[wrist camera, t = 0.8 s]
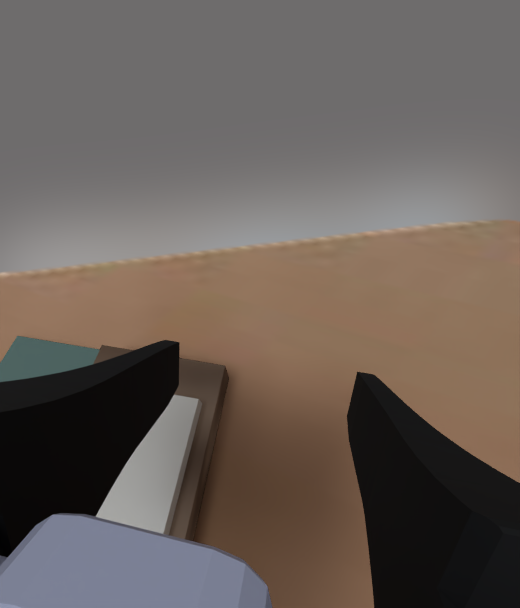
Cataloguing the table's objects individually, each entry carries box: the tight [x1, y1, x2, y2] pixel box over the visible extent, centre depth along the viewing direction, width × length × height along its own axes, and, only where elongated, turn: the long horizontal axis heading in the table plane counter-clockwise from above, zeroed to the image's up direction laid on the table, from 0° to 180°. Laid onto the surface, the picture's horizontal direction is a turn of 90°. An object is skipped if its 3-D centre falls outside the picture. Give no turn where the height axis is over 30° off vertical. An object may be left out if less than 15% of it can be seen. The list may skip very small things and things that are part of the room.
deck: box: [93, 345, 229, 541], centre depth 20 cm, size 15×10×4 cm, turn 171°
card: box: [96, 395, 202, 535], centre depth 18 cm, size 9×6×2 cm, turn 171°
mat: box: [0, 336, 99, 382], centre depth 23 cm, size 16×10×1 cm, turn 171°
